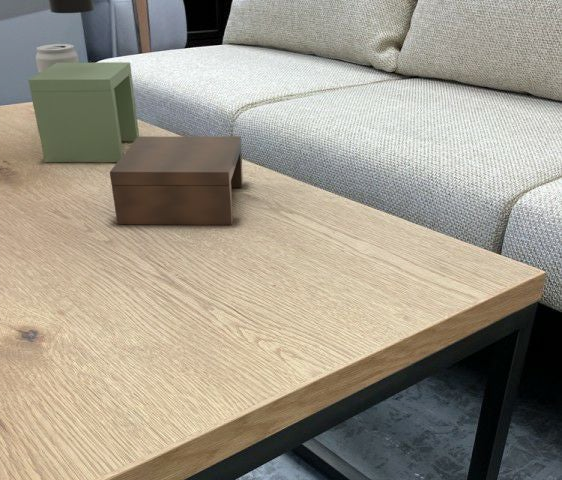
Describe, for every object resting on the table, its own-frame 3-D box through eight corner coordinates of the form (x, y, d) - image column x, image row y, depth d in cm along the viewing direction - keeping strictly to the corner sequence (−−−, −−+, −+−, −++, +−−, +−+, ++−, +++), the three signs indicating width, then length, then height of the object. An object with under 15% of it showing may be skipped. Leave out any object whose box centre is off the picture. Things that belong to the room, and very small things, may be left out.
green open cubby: (44, 162, 99) (27, 79, 93) (69, 138, 109) (56, 62, 103) (121, 162, 98) (109, 79, 92) (139, 138, 108) (130, 62, 102)
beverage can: (96, 122, 117) (84, 44, 110) (72, 132, 112) (57, 50, 105) (66, 119, 119) (52, 41, 112) (40, 128, 114) (24, 48, 108)
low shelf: (117, 224, 79) (109, 171, 76) (143, 183, 91) (137, 136, 87) (231, 225, 78) (228, 171, 75) (243, 183, 90) (241, 136, 87)
